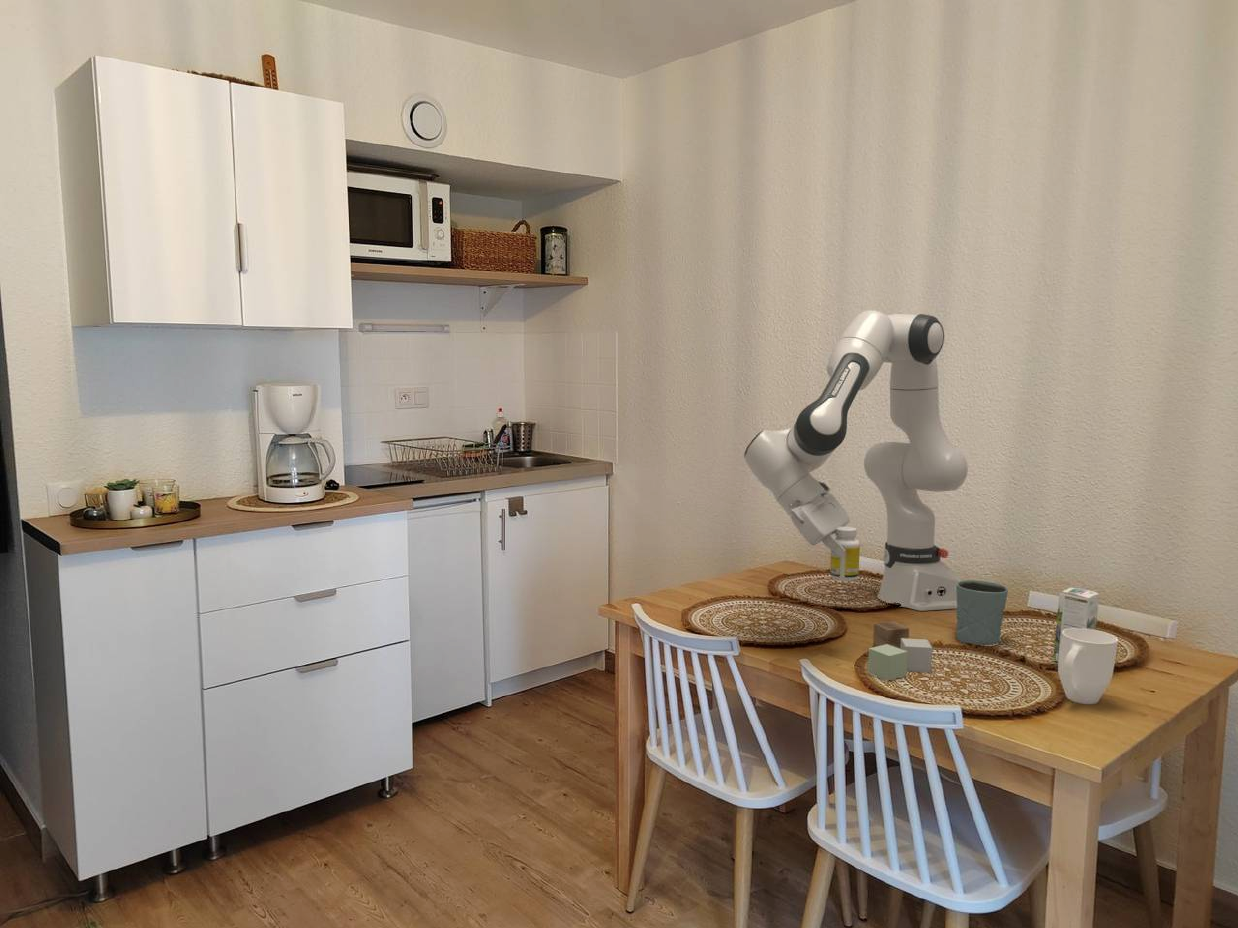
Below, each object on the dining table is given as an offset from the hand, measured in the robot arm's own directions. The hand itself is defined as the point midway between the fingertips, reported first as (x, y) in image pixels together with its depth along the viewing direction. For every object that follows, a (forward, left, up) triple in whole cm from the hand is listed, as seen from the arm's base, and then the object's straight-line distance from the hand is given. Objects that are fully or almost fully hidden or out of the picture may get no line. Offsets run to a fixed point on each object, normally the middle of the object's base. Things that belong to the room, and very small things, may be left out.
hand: (848, 550), depth 182 cm
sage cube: (-4, +13, -21) cm, 25 cm away
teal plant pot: (-31, -7, -21) cm, 39 cm away
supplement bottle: (+1, 0, -6) cm, 6 cm away
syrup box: (-44, +7, -21) cm, 50 cm away
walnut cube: (-10, -2, -21) cm, 24 cm away
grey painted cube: (-11, +9, -21) cm, 26 cm away
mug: (-34, +27, -21) cm, 49 cm away
